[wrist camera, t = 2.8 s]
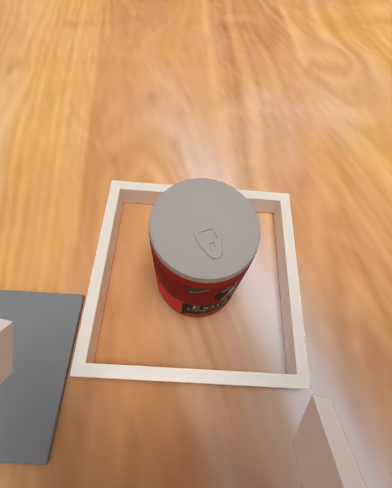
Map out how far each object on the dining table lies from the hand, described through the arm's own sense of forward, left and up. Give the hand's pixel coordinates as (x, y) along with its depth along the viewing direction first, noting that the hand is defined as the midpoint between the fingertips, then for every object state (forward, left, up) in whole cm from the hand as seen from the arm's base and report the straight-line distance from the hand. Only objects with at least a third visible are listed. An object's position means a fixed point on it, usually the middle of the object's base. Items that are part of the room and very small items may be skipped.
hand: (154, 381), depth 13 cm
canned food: (-2, -10, -14) cm, 17 cm away
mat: (+15, -1, -14) cm, 20 cm away
